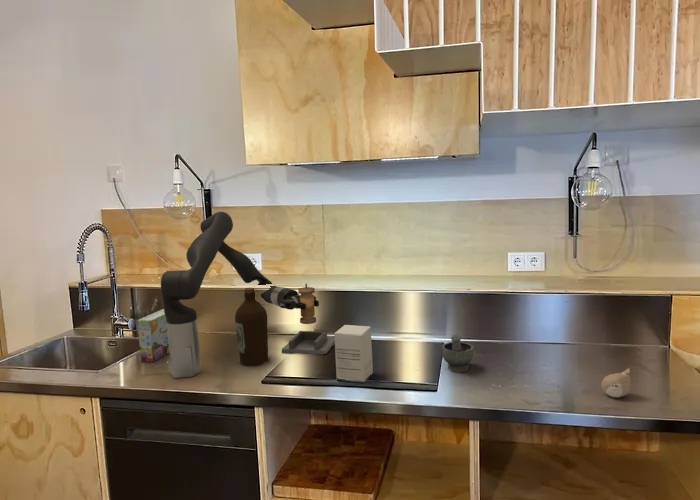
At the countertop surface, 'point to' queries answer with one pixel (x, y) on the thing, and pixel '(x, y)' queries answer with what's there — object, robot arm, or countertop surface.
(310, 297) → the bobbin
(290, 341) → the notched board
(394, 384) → the countertop surface
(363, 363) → the supplement box
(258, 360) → the olive oil
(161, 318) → the snack box
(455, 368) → the mortar and pestle
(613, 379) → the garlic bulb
